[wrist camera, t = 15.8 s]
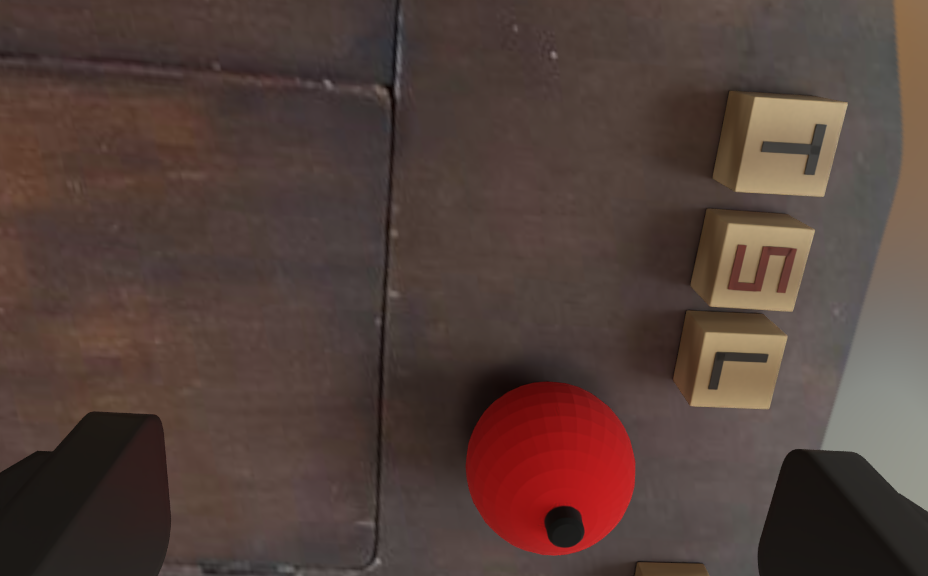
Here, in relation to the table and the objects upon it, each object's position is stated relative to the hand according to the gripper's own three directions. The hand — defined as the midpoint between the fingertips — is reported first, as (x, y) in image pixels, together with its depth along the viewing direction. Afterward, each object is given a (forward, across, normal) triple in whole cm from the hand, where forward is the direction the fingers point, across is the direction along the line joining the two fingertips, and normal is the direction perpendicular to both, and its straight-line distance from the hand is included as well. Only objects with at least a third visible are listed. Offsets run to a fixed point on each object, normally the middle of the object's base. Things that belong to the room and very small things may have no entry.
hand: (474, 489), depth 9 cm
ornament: (+28, -7, +16) cm, 33 cm away
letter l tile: (+28, -16, +11) cm, 34 cm away
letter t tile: (+28, -16, -1) cm, 32 cm away
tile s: (+28, -16, +5) cm, 33 cm away
